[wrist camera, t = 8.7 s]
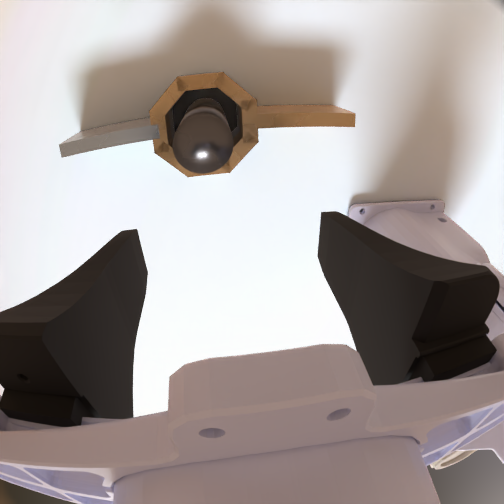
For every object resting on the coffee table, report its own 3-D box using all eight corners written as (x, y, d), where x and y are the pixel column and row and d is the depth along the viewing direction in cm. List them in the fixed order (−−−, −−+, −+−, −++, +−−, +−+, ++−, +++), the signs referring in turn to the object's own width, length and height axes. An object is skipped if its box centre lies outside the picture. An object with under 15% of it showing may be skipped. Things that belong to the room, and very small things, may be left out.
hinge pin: (222, 96, 18) (231, 112, 11) (225, 132, 19) (235, 170, 13) (184, 100, 18) (169, 119, 11) (187, 136, 19) (176, 177, 12)
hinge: (333, 70, 18) (356, 72, 15) (332, 150, 21) (352, 166, 18) (74, 97, 16) (51, 104, 13) (89, 175, 19) (71, 195, 16)
